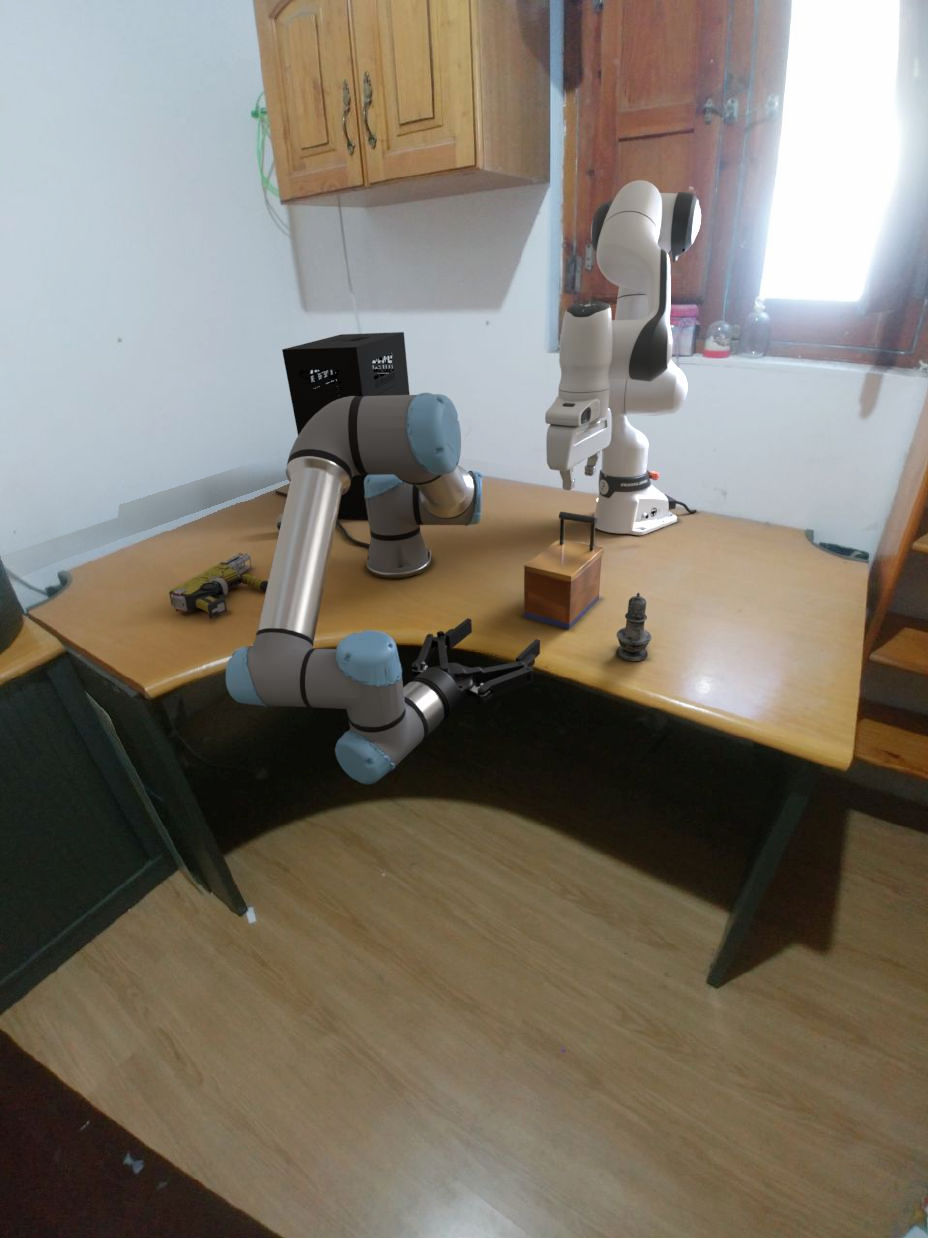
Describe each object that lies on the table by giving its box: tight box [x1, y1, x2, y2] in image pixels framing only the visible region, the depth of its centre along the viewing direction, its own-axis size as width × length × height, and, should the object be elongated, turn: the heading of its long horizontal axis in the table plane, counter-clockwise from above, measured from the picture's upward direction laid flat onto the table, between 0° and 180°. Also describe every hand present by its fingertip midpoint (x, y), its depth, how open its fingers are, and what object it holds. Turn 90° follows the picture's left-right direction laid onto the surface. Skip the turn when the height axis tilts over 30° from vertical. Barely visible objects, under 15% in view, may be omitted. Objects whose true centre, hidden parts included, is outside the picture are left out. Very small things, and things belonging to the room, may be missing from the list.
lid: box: [523, 511, 605, 582], centre depth 115 cm, size 15×10×8 cm, turn 145°
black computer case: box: [281, 331, 411, 520], centre depth 178 cm, size 38×20×45 cm, turn 167°
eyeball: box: [275, 512, 284, 531], centre depth 163 cm, size 6×6×6 cm
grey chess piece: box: [616, 592, 652, 662], centre depth 103 cm, size 6×6×12 cm
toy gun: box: [168, 552, 268, 619], centre depth 134 cm, size 5×24×15 cm
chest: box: [523, 554, 603, 630], centre depth 120 cm, size 14×10×10 cm
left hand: (502, 635), depth 103 cm, fingers open, 13 cm apart
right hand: (579, 481), depth 114 cm, fingers open, 8 cm apart
